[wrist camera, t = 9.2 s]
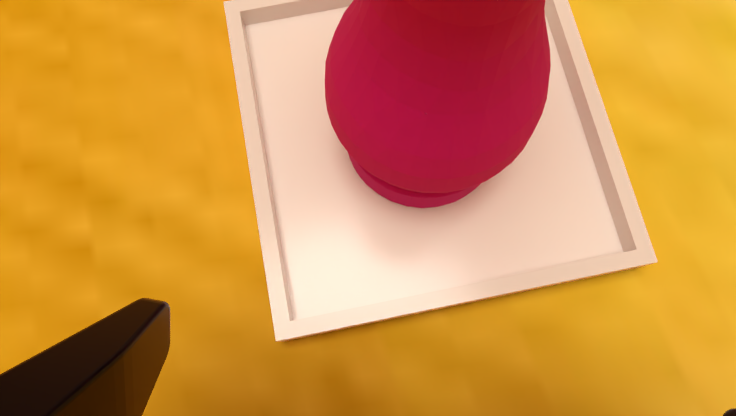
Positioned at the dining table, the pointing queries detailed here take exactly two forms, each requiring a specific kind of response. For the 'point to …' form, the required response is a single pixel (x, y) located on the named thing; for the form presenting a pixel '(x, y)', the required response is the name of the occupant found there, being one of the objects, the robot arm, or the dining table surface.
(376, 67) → the pepper mill
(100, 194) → the dining table surface
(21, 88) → the dining table surface
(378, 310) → the dish
